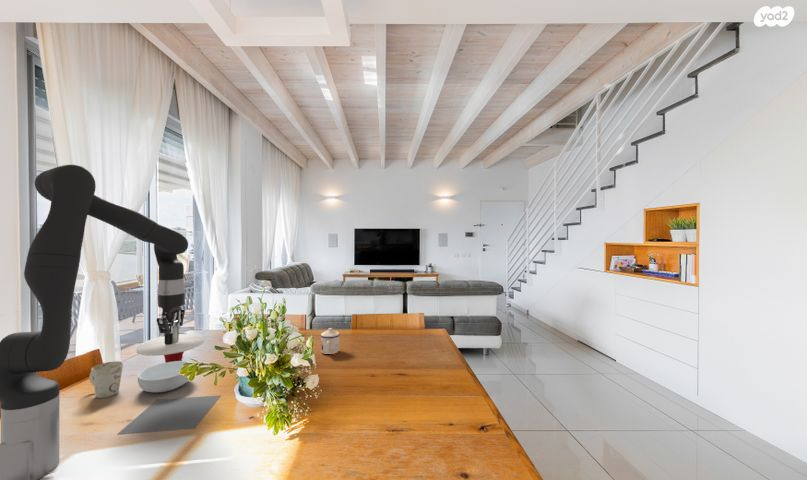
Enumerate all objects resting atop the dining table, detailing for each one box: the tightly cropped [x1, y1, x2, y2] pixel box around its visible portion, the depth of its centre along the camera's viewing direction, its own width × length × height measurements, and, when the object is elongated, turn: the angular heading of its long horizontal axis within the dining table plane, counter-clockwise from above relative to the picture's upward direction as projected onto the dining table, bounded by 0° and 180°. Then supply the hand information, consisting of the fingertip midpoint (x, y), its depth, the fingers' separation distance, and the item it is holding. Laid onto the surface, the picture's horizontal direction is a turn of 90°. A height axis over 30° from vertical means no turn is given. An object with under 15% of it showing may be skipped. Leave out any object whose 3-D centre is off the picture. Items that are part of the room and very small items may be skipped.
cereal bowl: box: [137, 360, 194, 393], centre depth 122 cm, size 17×17×7 cm
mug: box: [88, 360, 124, 399], centre depth 118 cm, size 8×13×10 cm, turn 79°
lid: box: [135, 326, 205, 357], centre depth 114 cm, size 19×19×6 cm
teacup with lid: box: [320, 327, 341, 354], centre depth 160 cm, size 12×9×12 cm
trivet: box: [116, 395, 221, 435], centre depth 105 cm, size 20×20×1 cm
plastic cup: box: [159, 331, 189, 363], centre depth 147 cm, size 11×11×12 cm
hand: (171, 342), depth 114 cm, fingers closed on lid, 3 cm apart
